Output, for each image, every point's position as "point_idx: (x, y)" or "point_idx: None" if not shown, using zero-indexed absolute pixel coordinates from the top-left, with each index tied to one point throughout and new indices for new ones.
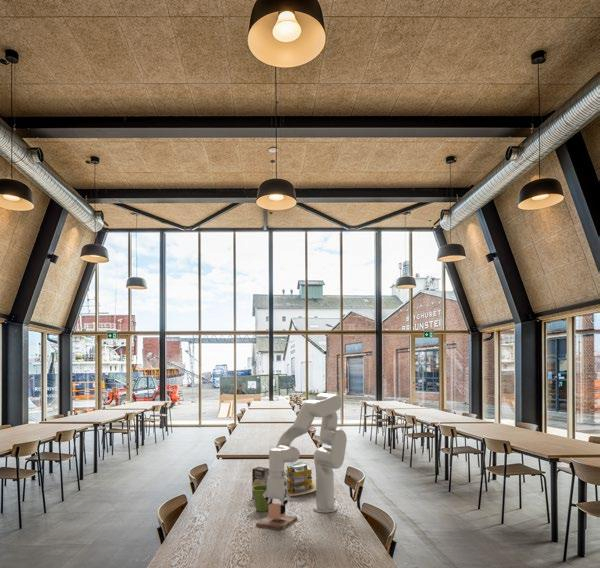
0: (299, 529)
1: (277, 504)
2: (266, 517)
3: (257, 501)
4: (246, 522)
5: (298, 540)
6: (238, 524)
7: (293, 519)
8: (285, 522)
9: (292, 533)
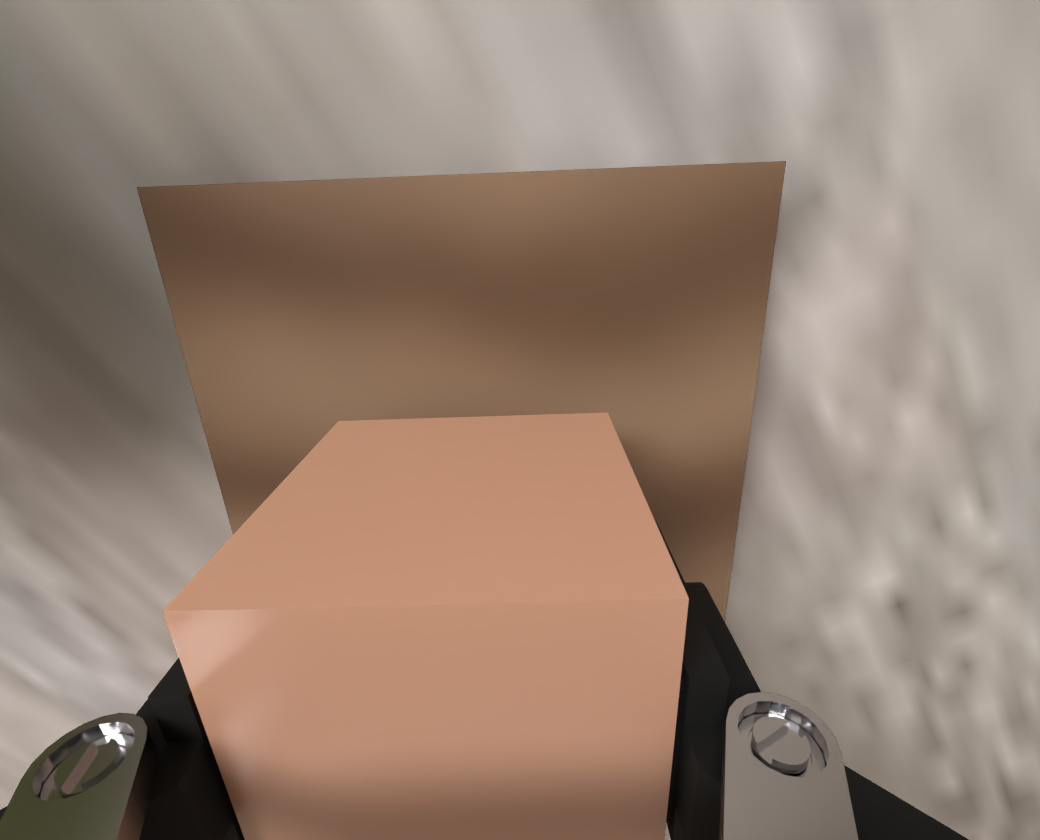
0: (927, 543)
1: (515, 826)
2: (240, 483)
3: None
4: (79, 633)
5: (995, 797)
6: (62, 720)
7: (760, 341)
8: (684, 540)
9: (869, 684)
